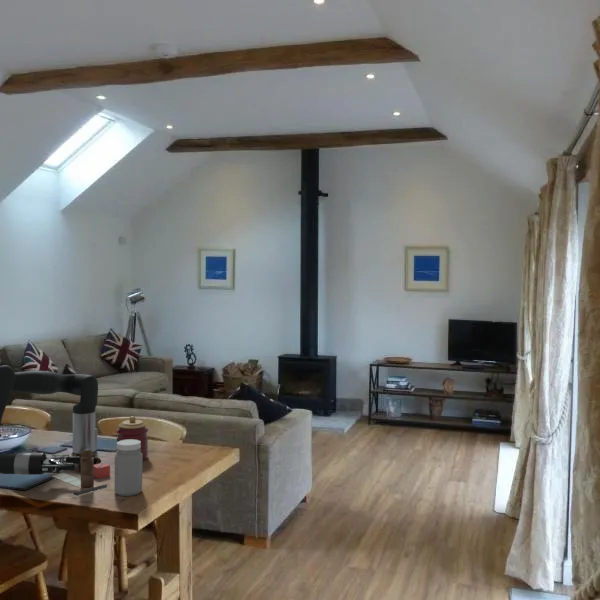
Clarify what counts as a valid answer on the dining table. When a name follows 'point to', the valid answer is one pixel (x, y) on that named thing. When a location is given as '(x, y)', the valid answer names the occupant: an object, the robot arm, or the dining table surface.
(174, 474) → the dining table surface
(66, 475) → the game board
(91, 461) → the walnut pawn
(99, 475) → the red die
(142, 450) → the canister
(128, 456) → the jar
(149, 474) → the dining table surface
